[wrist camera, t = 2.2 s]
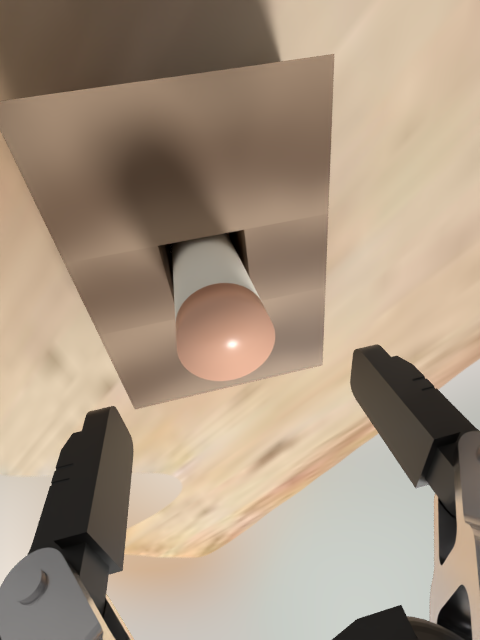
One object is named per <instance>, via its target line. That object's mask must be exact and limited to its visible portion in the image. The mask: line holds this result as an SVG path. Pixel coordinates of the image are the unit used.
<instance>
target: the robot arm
mask: <svg viewBox="0 0 480 640" xmlns="http://www.w3.org/2000/svg"><path fill="white" fill-rule="evenodd" d="M350 384H351V389H352V392H353V395H354V397H355V398H356V400H357V402H358V403H359V405H360V406H361V408H362V409H363V411H364V412H365V413H366V415H367V416H368V418H369V419H370V421H371V422H372V424H373V425H374V427H375V428H376V430H377V431H378V433H379V434H380V436H381V437H382V439H383V440H384V442H385V443H386V445H387V446H388V448H389V449H390V451H391V452H392V454H393V455H394V457H395V458H396V460H397V461H398V463H399V464H400V465H401V467H402V469H403V470H404V471H405V473H406V474H407V476H408V477H409V479H410V480H411V482H412V483H413V485H414V486H415V488H418V487H422V486H425V485H430V486H431V488H432V489H433V491H434V492H435V496H434V574H433V580H432V584H431V592H430V621H427V620H424V619H419V618H415V617H409V616H406V614H405V612H404V610H403V608H402V606H401V605H400V606H396V607H393V608H390V609H387V610H384V611H381V612H378V613H374V614H372V615H368V616H365V617H362V618H359V619H357V620H355V621H354V622H353V623H352V624H350V625H349V626H348V627H347V628H346V629H344V630H343V631H342V632H341V633H340V634H338V635H337V636H336V637H335V638H333V639H332V640H480V431H479V430H478V429H476V428H475V427H474V426H473V425H472V424H471V423H470V422H469V421H468V420H467V419H466V418H465V417H464V416H463V415H462V414H461V413H460V412H459V411H458V410H457V409H456V408H455V407H454V406H453V405H452V404H451V403H450V402H449V401H448V400H447V399H446V398H445V397H444V395H443V394H442V393H441V392H440V391H439V390H438V389H435V388H434V385H433V384H432V383H431V382H430V381H429V380H428V379H425V377H424V375H423V374H422V373H421V372H420V371H419V370H418V369H417V368H416V367H415V366H414V365H413V364H411V363H409V362H407V361H406V360H404V359H402V358H400V357H398V356H394V357H390V355H389V354H388V353H387V352H386V351H385V350H384V349H383V348H382V347H381V346H380V345H372V346H368V347H364V348H359V349H356V350H354V353H353V360H352V370H351V380H350ZM132 463H133V442H132V438H131V435H130V433H129V431H128V429H127V427H126V426H125V424H124V422H123V420H122V418H121V416H120V414H119V412H118V410H117V409H116V407H114V406H111V407H107V408H103V409H99V410H94V411H90V412H88V413H87V415H86V418H85V421H84V425H83V429H82V431H80V432H76V433H73V434H72V435H71V437H70V438H69V440H68V441H67V442H66V444H65V445H64V447H63V448H62V450H61V452H60V456H59V459H58V462H57V465H56V471H55V472H54V475H53V478H52V482H51V483H52V485H51V486H50V488H49V491H48V495H47V498H46V501H45V504H44V508H43V511H42V514H41V517H40V521H39V524H38V527H37V530H36V533H35V537H34V540H33V543H32V546H31V549H30V551H29V553H28V555H27V556H26V557H24V558H23V559H22V560H21V561H20V562H19V563H18V564H17V565H16V566H15V567H14V568H13V569H12V570H11V571H10V572H9V574H8V575H7V577H6V578H5V580H4V581H3V583H2V585H1V587H0V640H134V638H133V637H132V635H131V633H130V632H129V630H128V628H127V627H126V625H125V624H124V622H123V620H122V618H121V617H120V615H119V613H118V612H117V610H116V609H115V607H114V605H113V604H112V602H111V600H110V599H109V597H108V595H107V594H106V590H107V582H108V575H109V574H113V573H116V572H120V571H122V570H123V560H124V550H125V539H126V528H127V516H128V505H129V495H130V484H131V474H132Z"/></svg>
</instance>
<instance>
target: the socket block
mask: <svg viewBox="0 0 480 640" xmlns="http://www.w3.org/2000/svg"><path fill="white" fill-rule="evenodd" d="M333 75H334V54H331V55H324V56H317V57H310V58H303V59H296V60H289V61H281V62H274V63H267V64H260V65H253V66H246V67H239V68H232V69H225V70H218V71H210V72H203V73H196V74H189V75H182V76H175V77H168V78H161V79H154V80H147V81H139V82H132V83H125V84H118V85H111V86H104V87H97V88H90V89H83V90H76V91H68V92H61V93H54V94H47V95H40V96H33V97H26V98H19V99H12V100H5V101H0V131H1V133H2V135H3V137H4V139H5V141H6V143H7V145H8V147H9V149H10V151H11V153H12V155H13V158H14V160H15V162H16V164H17V166H18V168H19V170H20V172H21V174H22V176H23V178H24V180H25V182H26V184H27V187H28V189H29V191H30V193H31V195H32V197H33V199H34V201H35V203H36V205H37V207H38V209H39V211H40V214H41V216H42V218H43V220H44V222H45V224H46V226H47V228H48V230H49V232H50V234H51V236H52V238H53V240H54V243H55V245H56V247H57V249H58V251H59V253H60V255H61V257H62V259H63V261H64V263H65V265H66V267H67V270H68V272H69V274H70V276H71V278H72V280H73V282H74V284H75V286H76V288H77V290H78V292H79V294H80V296H81V299H82V301H83V303H84V305H85V307H86V309H87V311H88V313H89V315H90V317H91V319H92V321H93V323H94V325H95V328H96V330H97V332H98V334H99V336H100V338H101V340H102V342H103V344H104V346H105V348H106V350H107V352H108V355H109V357H110V359H111V361H112V363H113V365H114V367H115V369H116V371H117V373H118V375H119V377H120V379H121V381H122V384H123V386H124V388H125V390H126V392H127V394H128V396H129V398H130V400H131V402H132V404H133V406H134V408H135V409H138V408H143V407H147V406H151V405H155V404H160V403H164V402H168V401H172V400H177V399H181V398H185V397H189V396H194V395H198V394H202V393H206V392H211V391H215V390H219V389H223V388H228V387H232V386H236V385H240V384H245V383H249V382H253V381H257V380H262V379H266V378H270V377H274V376H279V375H283V374H287V373H291V372H296V371H300V370H304V369H308V368H313V367H317V366H321V365H322V363H323V337H324V311H325V285H326V258H327V232H328V206H329V180H330V154H331V127H332V101H333ZM223 233H229V236H230V240H231V242H232V244H233V246H234V248H235V250H236V252H237V254H238V256H239V258H240V260H241V262H242V264H243V266H244V268H245V270H246V272H247V274H248V276H249V278H250V280H251V282H252V284H253V286H254V288H255V290H256V292H257V294H258V296H259V298H260V300H261V302H262V303H263V305H264V307H265V309H266V311H267V313H268V315H269V317H270V319H271V321H272V323H273V326H274V329H275V343H274V347H273V349H272V352H271V354H270V355H269V357H268V358H267V360H266V361H265V362H264V363H263V364H262V365H261V366H260V367H259V368H257V369H256V370H255V371H253V372H251V373H250V374H248V375H246V376H243V377H241V378H237V379H234V380H229V381H211V380H206V379H203V378H200V377H198V376H196V375H194V374H192V373H191V372H189V371H188V370H187V369H186V368H185V367H184V366H183V365H182V363H181V361H180V359H179V357H178V354H177V345H176V324H175V303H174V282H173V261H172V255H171V251H170V248H169V244H170V243H176V242H181V241H186V240H192V239H197V238H202V237H207V236H213V235H218V234H223Z"/></svg>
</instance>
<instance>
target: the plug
mask: <svg viewBox="0 0 480 640" xmlns="http://www.w3.org/2000/svg"><path fill="white" fill-rule="evenodd" d="M172 261H173V282H174V303H175V324H176V345H177V354H178V357H179V359H180V361H181V363H182V365H183V366H184V367H185V368H186V369H187V370H188V371H189V372H191V373H192V374H194V375H196V376H198V377H200V378H203V379H206V380H211V381H229V380H234V379H237V378H241V377H243V376H246V375H248V374H250V373H251V372H253V371H255V370H256V369H257V368H259V367H260V366H261V365H262V364H263V363H264V362H265V361H266V360H267V358H268V357H269V355H270V354H271V352H272V349H273V347H274V343H275V329H274V326H273V323H272V321H271V319H270V317H269V315H268V313H267V311H266V309H265V307H264V305H263V303H262V302H261V300H260V298H259V296H258V294H257V292H256V290H255V288H254V286H253V284H252V282H251V280H250V278H249V276H248V274H247V272H246V270H245V268H244V266H243V264H242V262H241V260H240V258H239V256H238V254H237V252H236V250H235V248H234V246H233V244H232V242H231V240H230V238H229V236H228V234H227V233H223V234H218V235H213V236H207V237H202V238H197V239H192V240H186V241H181V242H176V243H172Z"/></svg>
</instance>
